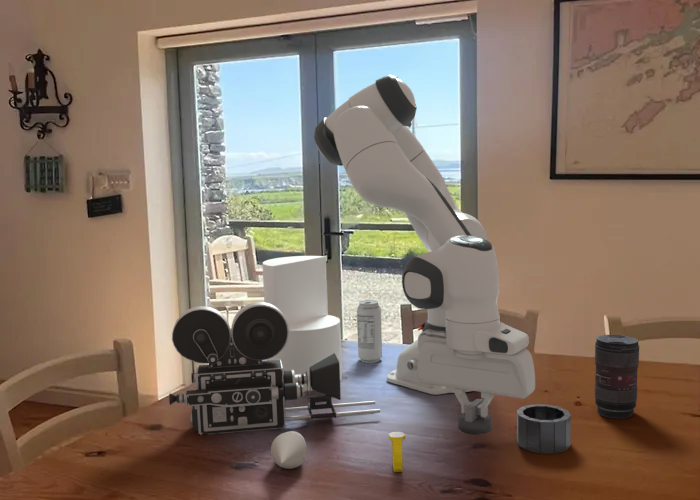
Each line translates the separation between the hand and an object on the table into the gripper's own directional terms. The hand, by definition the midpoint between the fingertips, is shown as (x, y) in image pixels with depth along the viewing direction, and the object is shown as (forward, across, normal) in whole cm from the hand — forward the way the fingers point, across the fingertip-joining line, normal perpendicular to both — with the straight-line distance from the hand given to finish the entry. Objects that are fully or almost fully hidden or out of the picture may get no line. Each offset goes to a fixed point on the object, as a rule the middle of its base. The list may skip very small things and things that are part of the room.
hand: (474, 414), depth 125 cm
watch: (+8, -10, -10) cm, 16 cm away
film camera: (+8, -40, -4) cm, 41 cm away
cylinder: (+8, -54, +22) cm, 58 cm away
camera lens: (+9, +14, +34) cm, 38 cm away
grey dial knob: (+2, 0, 0) cm, 2 cm away
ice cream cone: (+8, -25, -19) cm, 32 cm away
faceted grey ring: (+8, +7, +13) cm, 17 cm away
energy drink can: (+8, -49, +43) cm, 65 cm away
